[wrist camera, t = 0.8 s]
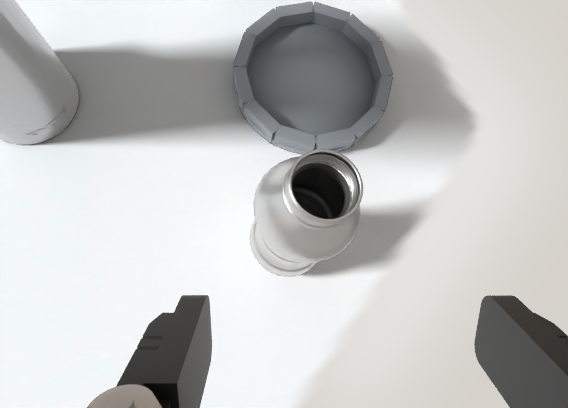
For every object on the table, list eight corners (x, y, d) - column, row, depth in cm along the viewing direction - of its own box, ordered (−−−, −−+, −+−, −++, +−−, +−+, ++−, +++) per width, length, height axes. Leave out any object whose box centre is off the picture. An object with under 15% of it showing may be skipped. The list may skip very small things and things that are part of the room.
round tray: (201, 77, 41) (199, 64, 39) (309, -8, 45) (312, -25, 43) (311, 186, 40) (316, 179, 38) (413, 89, 44) (423, 77, 41)
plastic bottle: (282, 293, 37) (326, 286, 18) (234, 238, 38) (227, 175, 19) (331, 247, 39) (421, 194, 19) (284, 195, 39) (326, 95, 20)
